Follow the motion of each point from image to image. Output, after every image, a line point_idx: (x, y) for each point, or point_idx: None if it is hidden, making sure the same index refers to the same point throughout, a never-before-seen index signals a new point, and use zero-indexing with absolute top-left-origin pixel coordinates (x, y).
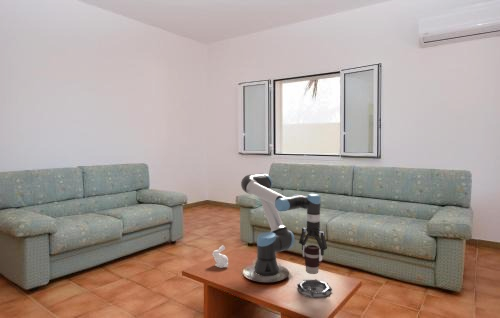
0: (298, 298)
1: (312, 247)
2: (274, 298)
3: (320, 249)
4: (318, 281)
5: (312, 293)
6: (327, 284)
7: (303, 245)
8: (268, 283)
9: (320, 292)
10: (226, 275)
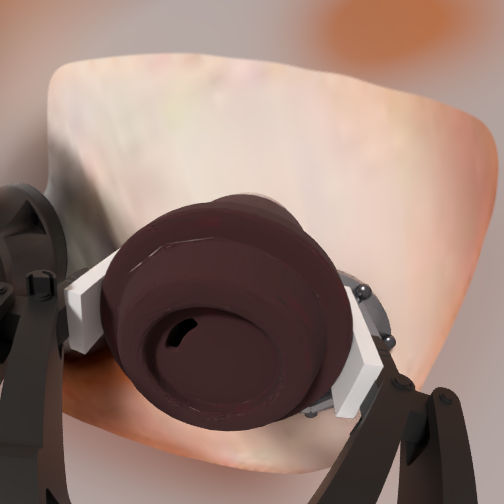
0: None
1: (201, 341)
2: (182, 441)
3: (352, 396)
4: None
5: (310, 412)
6: (368, 295)
7: (67, 334)
8: (96, 355)
9: None
10: None
